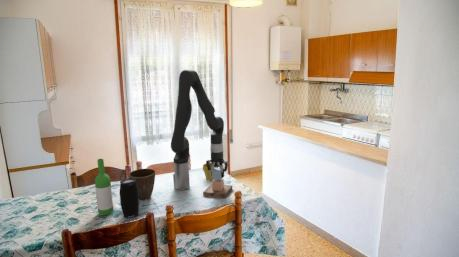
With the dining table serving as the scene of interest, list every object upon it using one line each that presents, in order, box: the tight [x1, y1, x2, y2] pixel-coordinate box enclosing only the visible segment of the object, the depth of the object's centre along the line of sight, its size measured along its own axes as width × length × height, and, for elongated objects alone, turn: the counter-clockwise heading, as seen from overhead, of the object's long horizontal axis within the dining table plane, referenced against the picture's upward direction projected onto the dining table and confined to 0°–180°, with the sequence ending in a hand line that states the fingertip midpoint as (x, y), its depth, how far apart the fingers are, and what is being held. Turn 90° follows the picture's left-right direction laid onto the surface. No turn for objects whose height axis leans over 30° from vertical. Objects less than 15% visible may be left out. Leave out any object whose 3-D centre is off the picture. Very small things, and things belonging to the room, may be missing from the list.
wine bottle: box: [94, 158, 114, 216], centre depth 170 cm, size 8×8×30 cm
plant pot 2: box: [202, 162, 219, 181], centre depth 220 cm, size 10×10×10 cm
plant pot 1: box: [128, 168, 156, 202], centre depth 189 cm, size 15×15×16 cm
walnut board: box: [202, 183, 233, 199], centre depth 196 cm, size 14×14×2 cm
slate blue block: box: [212, 167, 223, 180], centre depth 194 cm, size 6×6×6 cm
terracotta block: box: [211, 178, 225, 191], centre depth 195 cm, size 6×6×6 cm
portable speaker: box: [119, 177, 140, 219], centre depth 167 cm, size 9×9×20 cm
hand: (217, 177), depth 195 cm, fingers closed on slate blue block, 5 cm apart
